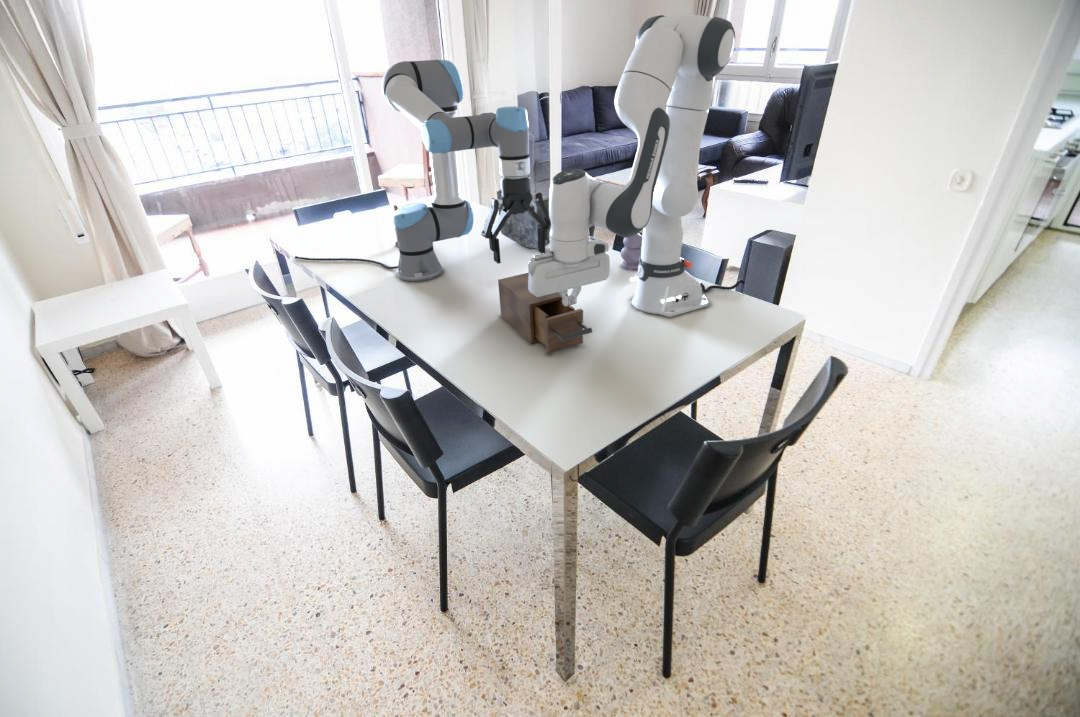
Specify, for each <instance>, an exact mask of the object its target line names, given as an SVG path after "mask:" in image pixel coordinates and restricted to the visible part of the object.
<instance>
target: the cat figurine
mask: <svg viewBox="0 0 1080 717" xmlns="http://www.w3.org/2000/svg"><path fill="white" fill-rule="evenodd" d="M622 243H623V246H624V247H622V249H621V251H620V256H621V258H622V260H623V261H622V266H621V267H622V268H623V269H626V270H630V271H631V270H638V265H639V257H640V256H641V246H642V234H640V232H639V233H637V234H636V235H634V236H632V237H629V238H624V237H623V241H622Z"/></svg>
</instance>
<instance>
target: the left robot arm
mask: <svg viewBox="0 0 1080 717" xmlns="http://www.w3.org/2000/svg"><path fill="white" fill-rule="evenodd" d="M381 92H382V96H383V98H384V100H385V101H386V103H387V104H388V105H389V106H390V107H391V108H392V109H393V110H395V111H397V112H399V113H402V114H403V115H404V116H405V117H406V118H407V119H408V120H409V121H410V122H412V123H413V125H415V126H416V127H417V128H418V129H419V130H420V131H421V132H420V135H421V140H422V143H423V145H424V148H425V150H426V151H427V152H428V153H429V157H430V166H431V173H432V174H431V175H432V183H433V190H434V194H433V196H432V197H431V199H430V202H431V206H428V205H427V204H426V203H424V202H423V203H422V202H417V203H410V204H406V205H403V206H401V207H398V209H397V210H396V211H395V210H394V213H393V215H392V219H393V228H394V230H395V231H394V232H395V236H396V242H398V246H397V247H398V251H399V259H398V265H395V266H391V265H386V264H385V263H382V262H381V261H376V260H373V259H366V258H356V257H355V258H354V257H353V258H351V257H350V258H349V257H337V258H336V257H335V258H334V257H333V258H332V257H331V258H329V257H326V258H324V257H320V258H319V257H316V258H315V257H304V256H298V255H295V256H294V259H298V260H305V261H318V262H319V261H323V262H324V261H330V262H331V261H334V262H335V261H354V262H355V261H356V262H366V263H373V264H377V265H380V266H382V267H384V268H385V269H389V270H393V269H394V270H396V269H397V276H398V278H399V279H400V280H402V281H406V282H413V283H414V282H425V281H429V280H432V279H435V278H438V277H439V276H440V275H441V274H442V273H443V268H442V264H441V263H440V260H439V259H438V256H437V254H436V252H435V250H434V243H435V242H440V241H444V240H445V241H446V240H449V239H455V238H460V237H463V236H466V235H469V234H470V232H471V231H472V229H473V226H474V211H473V207H472V205H471V203H470V202H469V201H468V200H466V197H465V196H464V195H463V194H462V193H461V185H460V175H459V174H460V173H459V163H458V154H457V153H458V152H459V151H467V150H475V149H484V148H490V147H491V148H493V147H495V148H498V150H497V151H498V160H499V163H498V164H499V175H500V176H501V178H500V190H501V191H502V198H501V199H497V198H493V197H492V198H490V202H489V204H490V206H489V210H488V212H487V213H488V214H487V216H486V220H485V222H484V224H483V227H482V231H481V236H482V237H483V238H484V239H488V244H489V249H490V251H492V253H493V261H494V262H495V263H497V265H499V264H501V263H502V262H501V251H500V250H501V249H500V239H499V238H497V237H498V235H499V234H500V233H501V229H502V227H503V226H504V224H505V222H506V221H507V219H508V218H509V217H510V216H511V214H513V215H516V214H518V213H525V211H526V212H527V213H528V214H529V215H530V216H531V217H532V218H533V219H534V220H535V221H536V222H537V223H538V225H539V226H540V227H541V228H538V248H537V251H538V252H539V253H541V254H544V253H546V246H545V240H547V230H549V226H550V227H551V221H550V218H549V212H548V210H547V208H546V206H545V204H544V202H543V198H542V195H543V193H542V192H539V191H537V190H535V191H533V192H534V193H533V194H531V192H530V191H532V184H531V183H532V181H531V176H530V173H531V164H530V163H531V162H530V161H531V160H530V131H529V130H530V129H529V128H530V123H529V119H528V110H527V108H525V107H524V106H516V105H515V106H502V107H501V106H500V107H498V108H497V109H496V110H495V113H494V112H482V113H480V114H475V115H467V116H465V115H464V116H455V115H456V113H457V112H458V104H460V103H461V102H462V101H463V99H464V97H463V96H464V86H463V80H462V78H461V74H460V72H459V70H458V69H457V67H456V65H455V64H454V63H453V62H452V61H450V60H447V59H428V60H427V59H426V60H410V61H409V60H405V61H404V60H403V61H399V62H396V63H394V64H393V65H391V66H389V68H388V69H386V71H385V73H384V75H383V76H382V80H381ZM532 199H533V200H534V201H535V202H536V204H537V206H538V208H539V210H540V212H541V214H542V216H543V218H544V220H545V222H544V221H543V220H542V219H541V218H540V216H539V215H538V214H537V213H536V212H535V211H534V209H533V208H532V207H531V206H530V203H531V201H532ZM501 204H502V205H503V206H504V207H503V209H502V211H501V214H500V216H499V215H498V214H499V209H498V208H500V205H501ZM497 215H498V216H497Z"/></svg>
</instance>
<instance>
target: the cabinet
mask: <svg viewBox="0 0 1080 717" xmlns="http://www.w3.org/2000/svg"><path fill="white" fill-rule="evenodd" d="M528 277H529V272H525V273H520V274H516V275H512V276H508V277H504V278H500V279H499V278H498V279H497V281H498V282H497V283H498V294H499V306H500V308H499V309H500V317H502V319H503V320H505V322H506V323H508V324H509V325H510V326H511V327H512V328H513V329H514V330H515V331H517V332H518V333H519V335H521V336H522V337H523V338H524V339H525V340H526V341H527V342H528V343H530V344H535V343H540V341H539V340H538V339H537V338H536V337H535V336H534V323H533V307H535V306H539V305H542V304H546V303H550V302H554V301H558V300H561V299H562V297H561V295H560V294H559V292H556V293H552V294H548V295H544V296H540V297H536V296H535V295H533V294H532V293H531V292H530V291H529V290H528ZM566 296H569V294H568V293H567V294H566Z"/></svg>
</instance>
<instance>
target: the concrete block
mask: <svg viewBox="0 0 1080 717" xmlns="http://www.w3.org/2000/svg"><path fill="white" fill-rule="evenodd" d="M530 192H531V194H533V193H534V192H535V191H533V190H531V191H530ZM496 197H497V198H496V199H501V198H502V191H501V189H499V190H497V191H496ZM542 198H543V202H544V204H545V206H546V208H547V210H548V212H549V196H548V195H544V194H542ZM530 206H531V207H532V208H533V209H534V211H535V212H536V213H537V214H538V215H539V216H540V218H541V219H542V220H543V221H544V222H545V220H544V218H543V216H542V214H541V212H540V210H539V208H538V206H537V204H536V202H535V201H534V200H533V199H532V201H531V203H530ZM503 207H504V206H503V205H502V204H501V205H500V208H498V217H499V216H500V214H501V211H502V209H503ZM538 228H541V227H540V226H539V225H538V223H537V222H536V221H535V220H534V219H533V218H532V217H531V216H530V215H529V214H528V213H527V212H526V211H525V213H518V214H516V215H513V214H511V216H510V217H509V218H508V219H507V221H506V222H505V224H504V226H503V227H502V229H501V230H500V233H501V235H503V236H504V237H506V238H508V239H510V240H511V241H513V242H515V243H517V244H519V245H521V246H522V247H526V248H528V249H538ZM550 229H551V226H549V230H547V240H545V247H546V246H549V245H550V238H549V234H550Z"/></svg>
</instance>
